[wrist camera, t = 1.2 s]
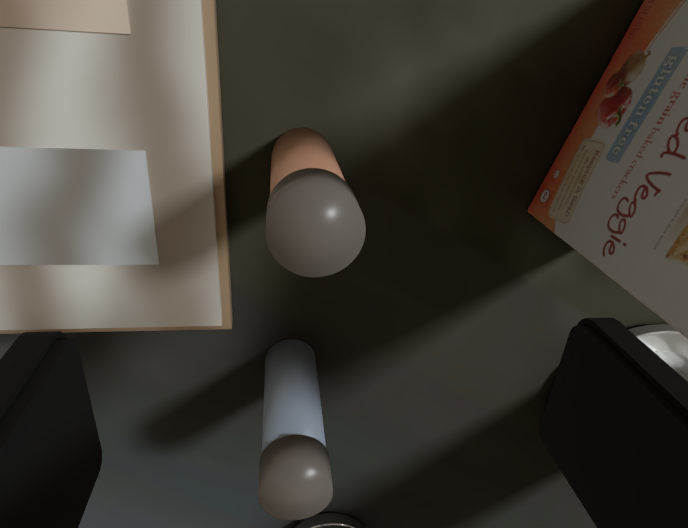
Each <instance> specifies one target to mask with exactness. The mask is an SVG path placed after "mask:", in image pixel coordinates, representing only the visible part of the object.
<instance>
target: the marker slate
mask: <svg viewBox="0 0 688 528" xmlns="http://www.w3.org/2000/svg"><path fill="white" fill-rule="evenodd" d="M332 496H333V486H332V478H331V470H330V461H329V454H328V451H327V448H326V445H325V436H324V427H323V419H322V410H321V401H320V393H319V384H318V376H317V367H316V358H315V353H314V351H313V349H312V348H311V346H310V345H308V344H307V343H305V342H304V341H301V340H297V339H286V340H282V341H279V342H277V343H275V344H274V345H273V346H272V347H270V349H269V350H268V352H267V354H266V357H265V381H264V410H263V440H262V454H261V457H260V467H259V493H258V500H259V504H260V506H261V508H262V509H263V510H264V511H265V512H266V513H267V514H269V515H271V516H273V517H275V518H278V519H283V520H301V519H305V518H309V517H311V516H314V515H316V514H318V513H319V512H321V511H322V510H323V509H325V508H326V507H327V505H328V504H329V503H330V501H331V499H332Z"/></svg>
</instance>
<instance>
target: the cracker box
mask: <svg viewBox="0 0 688 528" xmlns="http://www.w3.org/2000/svg"><path fill="white" fill-rule="evenodd" d="M528 213H529V214H531V215H532V216H534V217H535V218H536V219H537V220H539V221H540V222H541V223H542V224H543V225H545V226H546V227H547V228H548V229H549V230H550V231H552V232H553V233H554V234H556V235H557V236H558V237H560V238H561V239H562V240H564V241H565V242H566V243H568V244H569V245H570V246H571V247H573V248H574V249H575V250H576V251H578V252H579V253H580V254H581V255H583V256H584V257H585V258H586V259H588V260H589V261H590V262H592V263H593V264H594V265H595V266H597V267H598V268H599V269H600V270H602V271H603V272H604V273H605V274H607V275H608V276H609V277H610V278H612V279H613V280H614V281H615V282H616V283H618V284H619V285H620V286H621V287H623V288H624V289H625V290H627V291H628V292H629V293H630V294H632V295H633V296H634V297H635V298H637V299H638V300H639V301H641V302H642V303H643V304H644V305H646V306H647V307H648V308H649V309H651V310H652V311H653V312H655V313H656V314H657V315H658V316H660V317H661V318H662V319H663V320H665V321H666V322H667V323H668V324H670V325H671V326H672V327H673V328H674V329H676V330H677V331H678V332H679V333H681V334H682V335H683V336H684V337H686V338H687V339H688V0H644V1H643V3H642V5H641V7H640V8H639V10H638V12H637V14H636V15H635V17H634V19H633V21H632V23H631V24H630V26H629V28H628V30H627V32H626V34H625V36H624V38H623V39H622V41H621V43H620V45H619V47H618V48H617V50H616V52H615V54H614V55H613V57H612V59H611V61H610V63H609V64H608V66H607V68H606V70H605V72H604V73H603V75H602V77H601V79H600V81H599V82H598V84H597V86H596V88H595V89H594V91H593V93H592V95H591V97H590V98H589V100H588V102H587V104H586V106H585V107H584V109H583V111H582V113H581V115H580V116H579V118H578V120H577V122H576V124H575V125H574V127H573V129H572V131H571V133H570V134H569V136H568V138H567V140H566V141H565V143H564V145H563V147H562V149H561V150H560V152H559V154H558V156H557V158H556V159H555V161H554V163H553V165H552V166H551V168H550V170H549V172H548V174H547V175H546V177H545V179H544V181H543V183H542V184H541V186H540V188H539V190H538V192H537V193H536V195H535V197H534V199H533V201H532V202H531V204H530V206H529V208H528Z"/></svg>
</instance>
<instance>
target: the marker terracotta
mask: <svg viewBox="0 0 688 528" xmlns="http://www.w3.org/2000/svg"><path fill="white" fill-rule="evenodd" d="M365 234H366V225H365V220H364V216H363V214H362V211H361V209H360V207H359V205H358V202H357V200H356V198H355V196H354V193H353V191H352V190H351V188H350V186H349V185H348V184H347V183H346V182H345V179H344V177H343V175H342V172H341V170H340V168H339V165H338V163H337V161H336V159H335V156H334V154H333V152H332V149H331V147H330V145H329V143H328V141H327V140H326V139H325V137H324V136H322V135H321V134H320V133H319V132H317V131H315V130H312V129H309V128H294V129H291V130H289V131H287V132H285V133H284V134H282V135H281V136H280V137H279V138H278V139H277V141H276V142H275V144H274V147H273V150H272V155H271V181H270V197H269V199H268V203H267V214H266V241H267V245H268V248H269V250H270V252H271V254H272V256H273V257H274V258H275V260H276V261H277V262H278V263H279V264H280V265H281V266H283V267H284V268H285V269H287V270H289V271H290V272H292V273H295V274H297V275H301V276H305V277H323V276H328V275H332V274H334V273H337V272H339V271H341V270H342V269H344V268H345V267H347V266H348V265H349V264H350V263H351V262H352V261H353V260H354V259H355V258H356V257H357V255H358V254H359V252H360V251H361V248H362V246H363V243H364V240H365Z"/></svg>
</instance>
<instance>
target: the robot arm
mask: <svg viewBox="0 0 688 528" xmlns="http://www.w3.org/2000/svg"><path fill="white" fill-rule="evenodd" d="M540 435H541V439H542V441H543V443H544V445H545V447H546V448H547V450H548V451H549V453H550V454H551V456H552V458H553V459H554V461H555V462H556V464H557V465H558V467H559V469H560V470H561V472H562V473H563V475H564V476H565V478H566V479H567V481H568V483H569V484H570V486H571V487H572V489H573V490H574V492H575V494H576V495H577V497H578V498H579V500H580V501H581V503H582V505H583V506H584V508H585V509H586V511H587V512H588V514H589V516H590V517H591V519H592V520H593V522H594V523H595V525H596V527H597V528H688V339H687V338H686V337H684V336H683V335H682V334H681V333H679V332H678V331H677V330H676V329H674V328H673V327H672V326H671V325H666V324H659V325H645V326H640V327H635V328H631V329H627V328H626V327H625V326H624V325H622V324H621V323H620V322H619V321H618V320H616V319H614V318H585V319H582V320H581V321H580V322H579V323H578V325H577V326H574V327H573V328H572V329H571V331H570V334H569V337H568V340H567V343H566V346H565V349H564V352H563V355H562V358H561V361H560V365H559V368H558V371H557V374H556V377H555V380H554V383H553V386H552V389H551V392H550V396H549V399H548V402H547V405H546V408H545V411H544V414H543V417H542V420H541V423H540ZM101 462H102V450H101V445H100V441H99V436H98V432H97V428H96V423H95V419H94V415H93V410H92V406H91V401H90V397H89V393H88V388H87V384H86V380H85V375H84V371H83V367H82V362H81V358H80V354H79V349H78V346H77V343H76V341H75V340H73V339H67V338H66V336H65V335H64V333H63V332H61V331H48V332H25V333H22V334H21V335H20V336H19V337H18V338H17V339H16V340H15V342H14V343H13V344H12V345H11V347H10V348H9V349H8V350H7V352H6V353H5V354H4V355H3V356H2V358H1V359H0V528H78V526H79V524H80V521H81V518H82V516H83V513H84V511H85V508H86V505H87V503H88V500H89V498H90V495H91V492H92V490H93V487H94V485H95V482H96V479H97V477H98V474H99V471H100V468H101Z"/></svg>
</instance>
